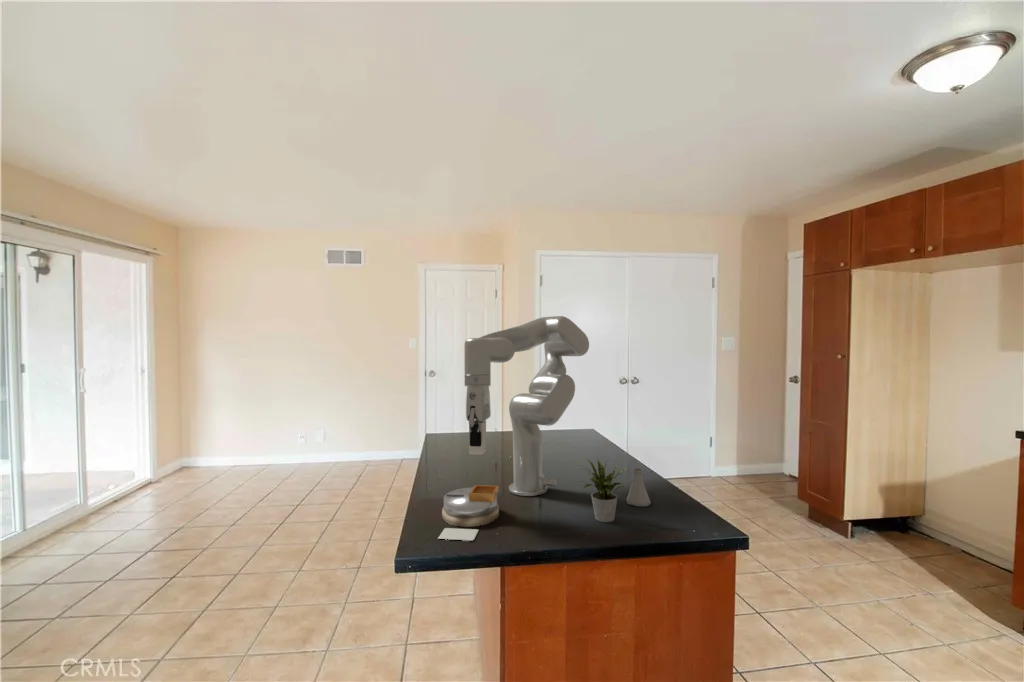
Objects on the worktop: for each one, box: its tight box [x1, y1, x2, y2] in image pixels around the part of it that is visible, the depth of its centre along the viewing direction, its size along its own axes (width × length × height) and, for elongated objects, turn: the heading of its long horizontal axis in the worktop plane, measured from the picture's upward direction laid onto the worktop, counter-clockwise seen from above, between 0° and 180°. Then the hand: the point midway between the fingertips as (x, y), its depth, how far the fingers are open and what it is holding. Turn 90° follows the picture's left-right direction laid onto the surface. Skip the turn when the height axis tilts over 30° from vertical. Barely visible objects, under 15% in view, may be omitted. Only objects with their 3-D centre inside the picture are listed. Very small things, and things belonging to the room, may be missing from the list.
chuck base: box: [441, 503, 500, 528], centre depth 123 cm, size 16×16×2 cm
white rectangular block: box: [468, 420, 487, 456], centre depth 126 cm, size 4×4×9 cm
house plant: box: [581, 458, 628, 523], centre depth 120 cm, size 14×14×16 cm
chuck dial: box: [443, 484, 500, 518], centre depth 123 cm, size 15×15×5 cm
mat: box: [437, 527, 479, 542], centre depth 111 cm, size 9×6×1 cm, turn 82°
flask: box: [625, 467, 652, 507], centre depth 130 cm, size 7×7×10 cm
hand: (477, 443), depth 126 cm, fingers closed on white rectangular block, 4 cm apart
